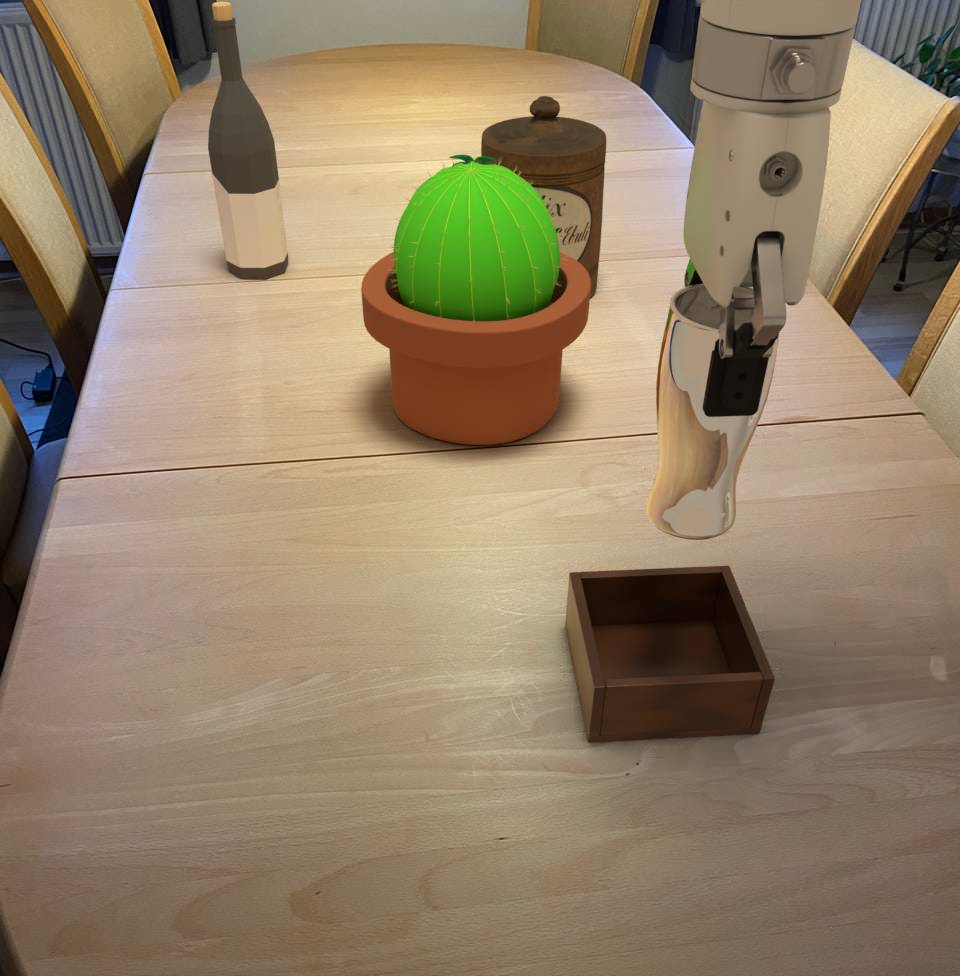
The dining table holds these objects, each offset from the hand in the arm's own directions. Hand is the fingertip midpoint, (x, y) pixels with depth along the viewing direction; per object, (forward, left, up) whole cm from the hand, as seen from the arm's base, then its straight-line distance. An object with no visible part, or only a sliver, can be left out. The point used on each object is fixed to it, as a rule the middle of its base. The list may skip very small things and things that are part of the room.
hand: (714, 379), depth 64 cm
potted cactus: (+12, -40, -24) cm, 49 cm away
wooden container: (+2, -70, -24) cm, 74 cm away
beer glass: (0, 0, -10) cm, 10 cm away
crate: (+1, +2, -24) cm, 24 cm away
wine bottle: (+38, -78, -24) cm, 90 cm away
